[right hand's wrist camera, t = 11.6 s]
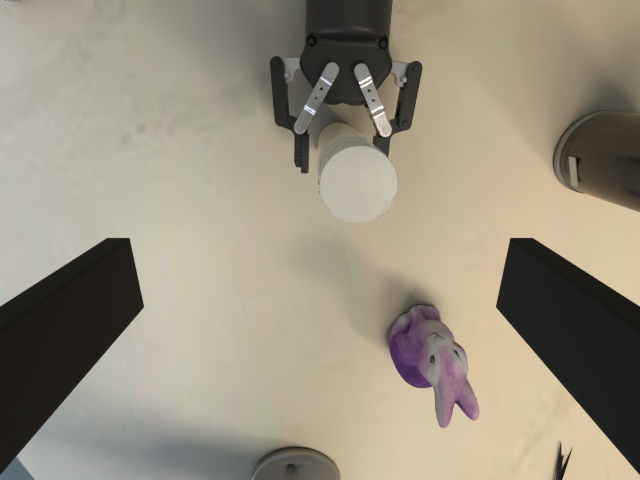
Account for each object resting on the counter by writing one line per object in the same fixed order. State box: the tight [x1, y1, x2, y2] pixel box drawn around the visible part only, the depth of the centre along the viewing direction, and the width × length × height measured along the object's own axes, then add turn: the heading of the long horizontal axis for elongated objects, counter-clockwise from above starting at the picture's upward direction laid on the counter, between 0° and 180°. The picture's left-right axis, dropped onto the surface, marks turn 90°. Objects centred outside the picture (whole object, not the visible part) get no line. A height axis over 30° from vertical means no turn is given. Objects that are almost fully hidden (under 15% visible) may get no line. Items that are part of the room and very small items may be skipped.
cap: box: [318, 141, 398, 223], centre depth 21 cm, size 4×4×2 cm
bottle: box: [317, 122, 374, 174], centre depth 31 cm, size 5×5×23 cm
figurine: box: [389, 305, 479, 428], centre depth 44 cm, size 9×10×15 cm
